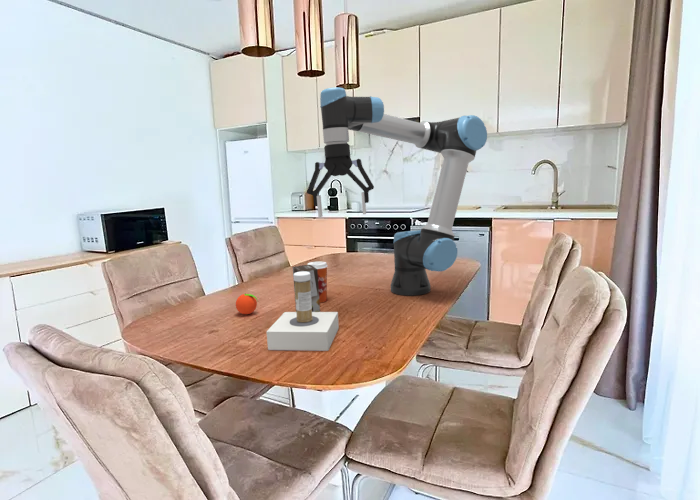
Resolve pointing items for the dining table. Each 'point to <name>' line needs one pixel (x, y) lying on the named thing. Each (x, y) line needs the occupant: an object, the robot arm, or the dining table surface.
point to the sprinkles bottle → (303, 296)
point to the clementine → (246, 303)
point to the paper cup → (321, 279)
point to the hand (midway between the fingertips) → (342, 215)
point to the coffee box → (311, 284)
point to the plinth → (303, 332)
